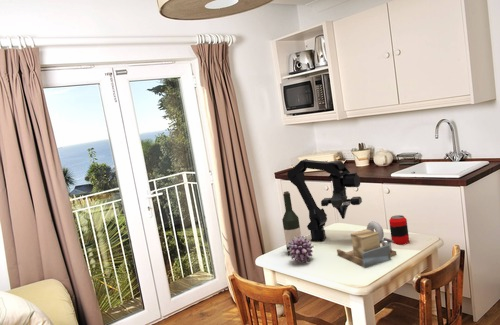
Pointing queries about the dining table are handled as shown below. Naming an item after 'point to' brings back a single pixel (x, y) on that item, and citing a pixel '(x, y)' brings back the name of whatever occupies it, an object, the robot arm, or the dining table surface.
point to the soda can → (399, 230)
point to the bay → (368, 256)
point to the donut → (376, 229)
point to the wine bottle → (290, 222)
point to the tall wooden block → (364, 241)
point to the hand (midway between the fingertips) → (343, 218)
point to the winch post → (388, 242)
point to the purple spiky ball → (300, 249)
